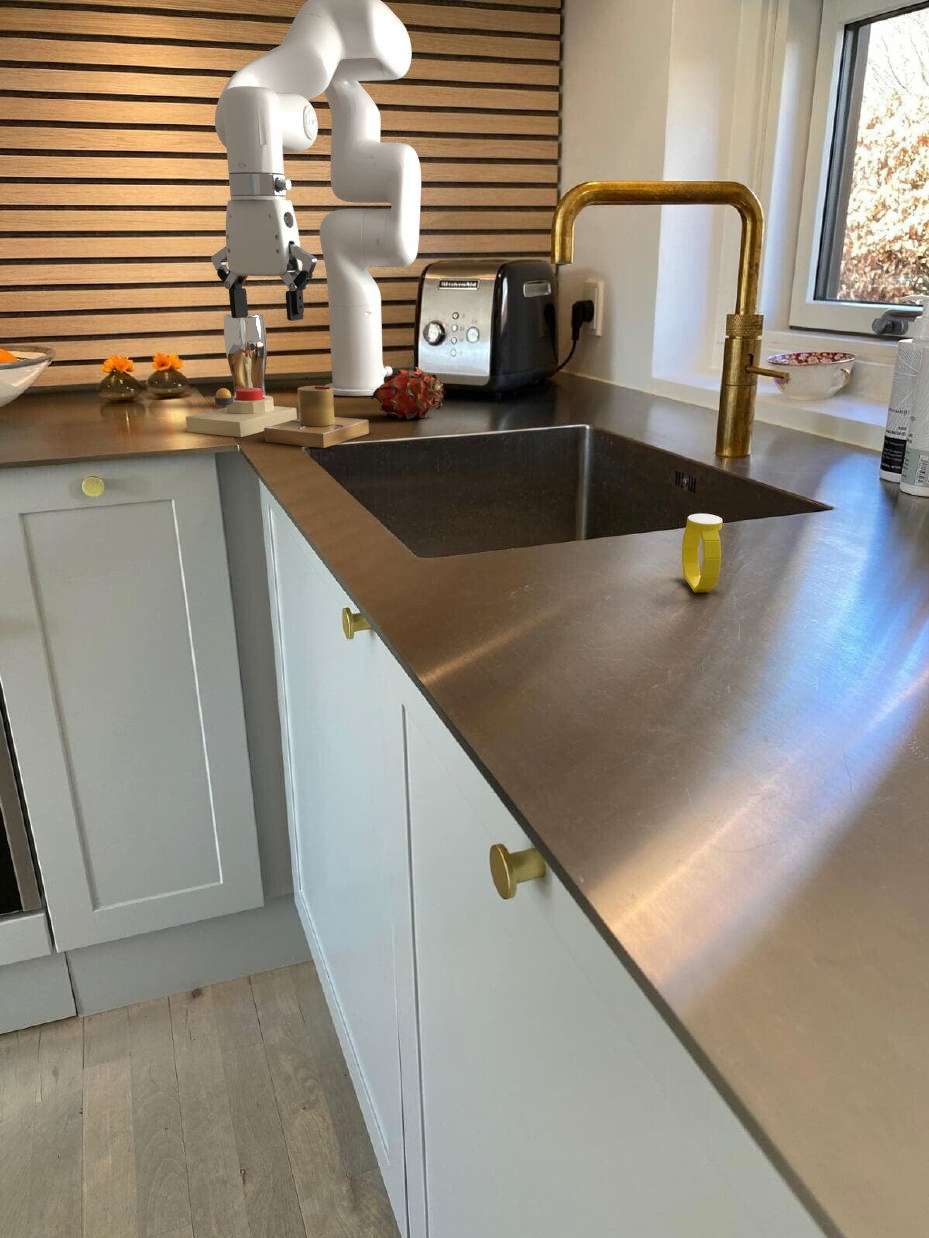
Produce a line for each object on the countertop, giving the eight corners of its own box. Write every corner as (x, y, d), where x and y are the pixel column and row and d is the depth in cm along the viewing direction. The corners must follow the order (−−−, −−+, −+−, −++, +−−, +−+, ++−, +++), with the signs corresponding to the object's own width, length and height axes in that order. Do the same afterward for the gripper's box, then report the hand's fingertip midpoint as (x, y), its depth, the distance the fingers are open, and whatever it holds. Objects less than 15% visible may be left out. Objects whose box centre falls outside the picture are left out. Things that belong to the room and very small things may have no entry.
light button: (247, 398, 147) (246, 387, 146) (268, 400, 145) (267, 388, 145) (231, 402, 144) (230, 390, 143) (252, 404, 142) (251, 392, 141)
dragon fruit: (451, 428, 152) (378, 439, 152) (444, 390, 156) (373, 402, 156) (447, 390, 145) (370, 402, 144) (439, 351, 149) (365, 363, 149)
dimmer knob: (293, 425, 134) (290, 387, 132) (311, 419, 139) (309, 382, 137) (323, 427, 133) (321, 389, 131) (341, 421, 137) (339, 384, 135)
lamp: (223, 402, 141) (221, 386, 140) (236, 403, 140) (235, 387, 139) (211, 404, 139) (210, 388, 138) (225, 406, 138) (224, 390, 137)
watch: (670, 575, 81) (677, 508, 78) (702, 574, 81) (709, 507, 79) (691, 600, 75) (698, 528, 73) (725, 599, 75) (733, 527, 73)
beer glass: (276, 403, 165) (270, 313, 159) (264, 409, 158) (257, 316, 153) (237, 402, 165) (230, 313, 160) (224, 409, 159) (216, 316, 153)
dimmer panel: (312, 427, 143) (312, 413, 143) (369, 433, 139) (368, 418, 139) (264, 441, 133) (263, 426, 133) (323, 448, 129) (323, 432, 129)
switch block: (246, 417, 152) (244, 392, 150) (297, 422, 148) (295, 396, 146) (187, 431, 140) (184, 404, 139) (240, 437, 136) (238, 409, 135)
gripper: (325, 189, 130) (332, 319, 136) (223, 191, 136) (234, 314, 143) (294, 187, 124) (303, 323, 130) (189, 189, 130) (202, 318, 137)
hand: (267, 318), depth 137 cm, fingers open, 9 cm apart
